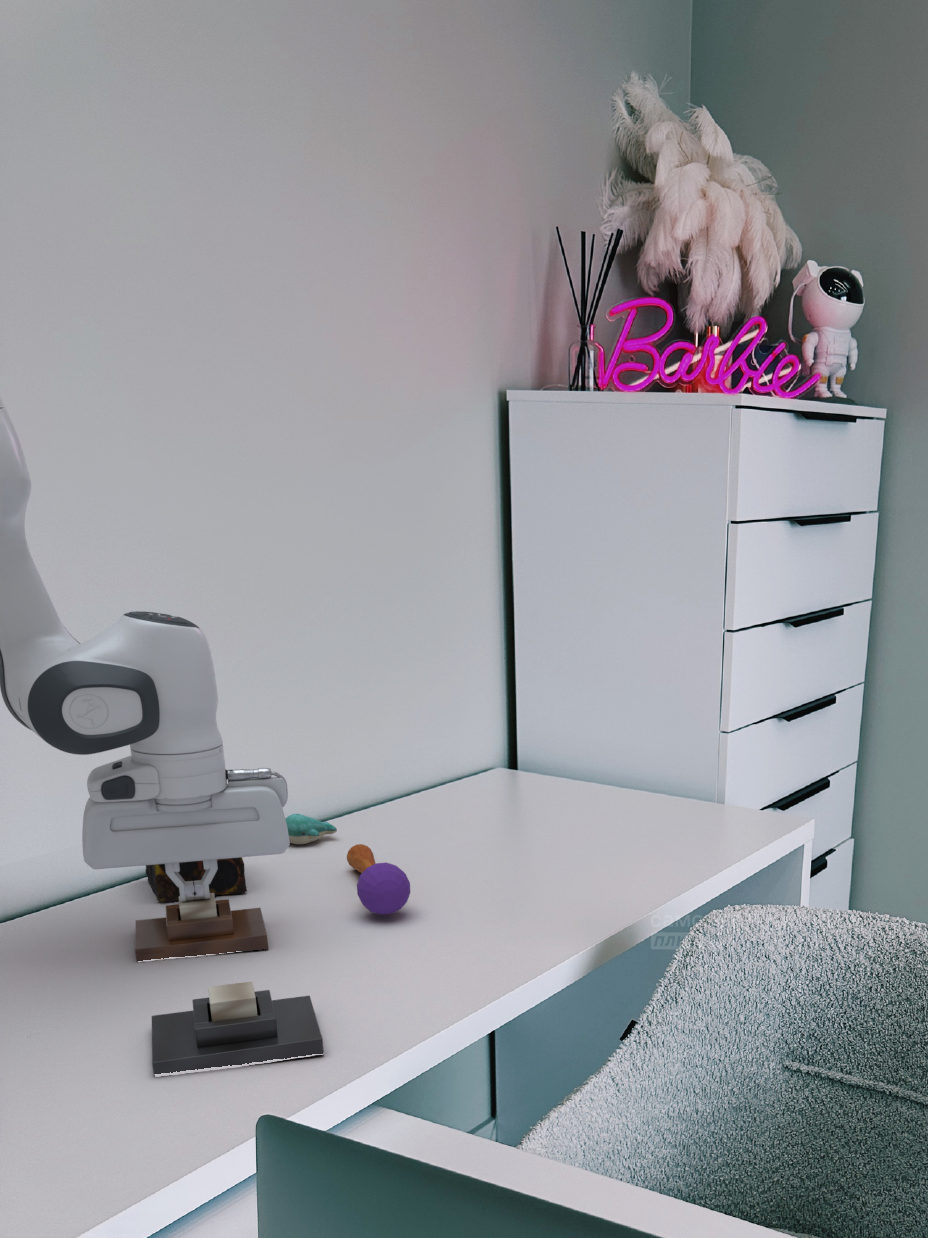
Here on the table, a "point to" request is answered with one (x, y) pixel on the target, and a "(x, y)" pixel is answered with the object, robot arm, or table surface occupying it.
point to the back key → (198, 908)
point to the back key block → (200, 933)
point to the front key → (232, 1001)
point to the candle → (198, 878)
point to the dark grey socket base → (235, 1035)
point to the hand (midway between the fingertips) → (195, 899)
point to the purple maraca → (378, 882)
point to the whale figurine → (306, 829)
